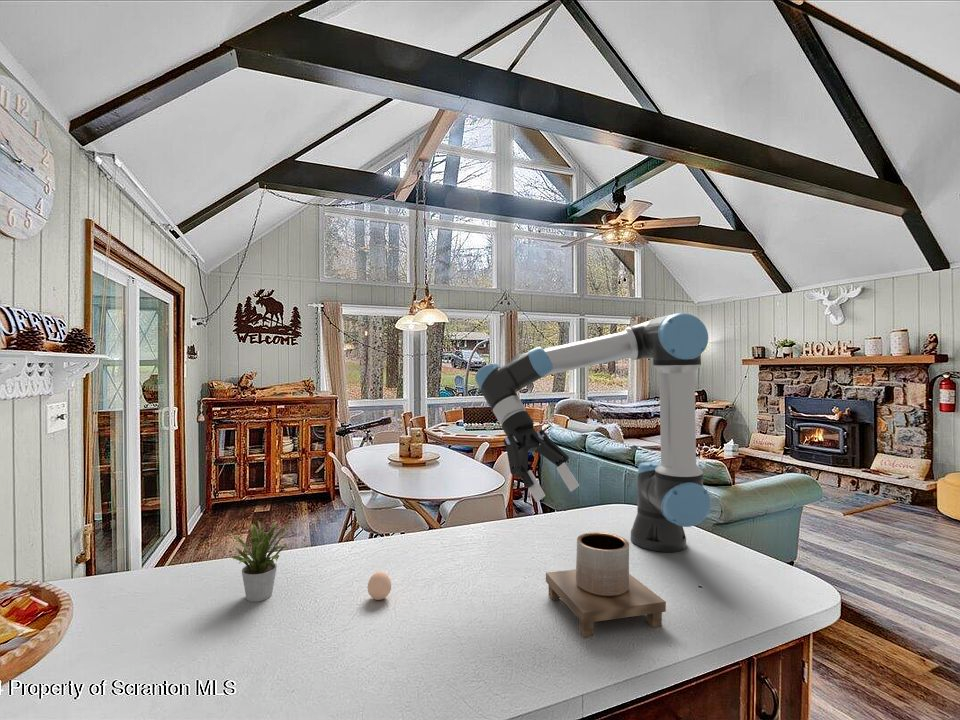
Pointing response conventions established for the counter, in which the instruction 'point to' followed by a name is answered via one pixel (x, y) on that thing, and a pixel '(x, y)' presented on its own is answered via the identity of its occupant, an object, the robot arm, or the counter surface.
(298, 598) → the counter surface
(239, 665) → the counter surface
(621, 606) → the plant stand
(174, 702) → the counter surface
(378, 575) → the egg
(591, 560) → the planter
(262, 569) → the house plant
